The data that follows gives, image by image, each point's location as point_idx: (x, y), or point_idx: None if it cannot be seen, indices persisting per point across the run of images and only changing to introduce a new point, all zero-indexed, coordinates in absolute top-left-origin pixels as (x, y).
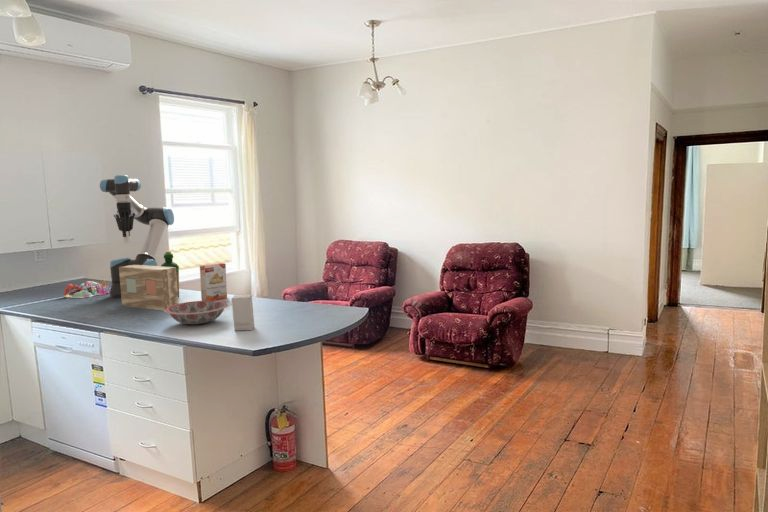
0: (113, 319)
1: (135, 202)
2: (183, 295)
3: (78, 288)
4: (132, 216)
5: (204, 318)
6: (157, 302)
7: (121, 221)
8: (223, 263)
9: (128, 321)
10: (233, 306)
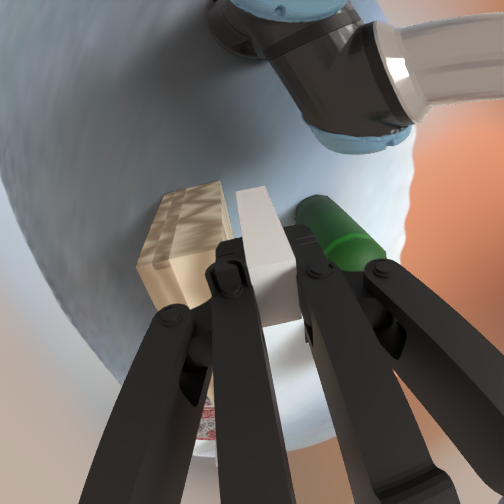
0: (107, 319)
1: None
2: (359, 205)
3: None
4: (493, 487)
5: (201, 428)
6: None
7: (225, 480)
8: (396, 376)
9: (127, 348)
10: (216, 458)
